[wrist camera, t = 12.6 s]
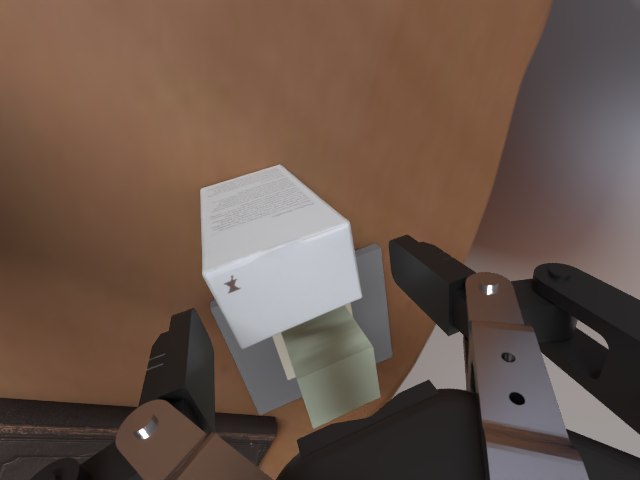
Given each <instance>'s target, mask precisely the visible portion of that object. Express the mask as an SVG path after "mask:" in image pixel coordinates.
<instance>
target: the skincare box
mask: <svg viewBox="0 0 640 480" xmlns="http://www.w3.org/2000/svg"><path fill="white" fill-rule="evenodd" d="M200 197H201V231H202V232H201V234H202V276H203V278H204V279H205V281H206V283H207V285H208V287H209V289H210V290H211V292H212V294H213V296H214V298H215V300H216V302H217V304H218V306H219V307H220V309H221V311H222V313H223V315H224V317H225V319H226V321H227V323H228V325H229V327H230V329H231V331H232V332H233V334H234V336H235V338H236V340H237V342H238V344H239V346H240V347H241V348H242V349H245V348H247V347H249V346H251V345H254V344H256V343H258V342H260V341H262V340H265V339H267V338H269V337H272V336H274V335H276V334H279V333H281V332H283V331H285V330H288V329H290V328H293V327H295V326H297V325H300V324H302V323H304V322H307V321H309V320H311V319H314V318H316V317H318V316H320V315H323V314H325V313H327V312H330V311H332V310H334V309H337V308H339V307H341V306H344V305H346V304H348V303H351V302H353V301H355V300H358V299H360V298H362V292H361V286H360V279H359V273H358V267H357V261H356V255H355V249H354V243H353V237H352V231H351V226H350V222H349V221H348V220H347V219H345V218H344V217H343V216H342V215H340V214H339V213H338V212H337V211H335V210H334V209H333V208H332V207H331V206H329V205H328V204H327V203H326V202H325V201H323V200H322V199H321V198H320V197H318V196H317V195H316V194H315V193H314V192H313V191H311V190H310V189H309V188H308V187H307V186H305V185H304V184H303V183H302V182H301V181H300V180H299V179H297V178H296V177H295V176H294V175H293V174H291V173H290V172H289V171H288V170H287V169H285V168H284V167H283V166H282V165H277V166H273V167H270V168H267V169H264V170H260V171H257V172H254V173H250V174H247V175H244V176H241V177H237V178H234V179H231V180H227V181H224V182H221V183H218V184H215V185H211V186H208V187H205V188H202V189H201V190H200Z"/></svg>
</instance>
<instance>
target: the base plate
mask: <svg viewBox="0 0 640 480" xmlns="http://www.w3.org/2000/svg"><path fill="white" fill-rule="evenodd" d="M355 255H356V261H357V267H358V273H359V279H360V286H361V292H362V298H360V299H358V300H355V301H353V302H351V303H348V304H346V305H345V306H346V308H347V309H348V311H349V312H350V314H351V315H352V316H353V318H354V319H355V321H356V322H357V324H358V325H359V327H360V328H361V330H362V331H363V333H364V334H365V336H366V337H367V338H368V340H369V341H370V343H371V344H372V346H373V349H374V356H375V363H376V364H377V363H380V362H382V361H384V360H386V359H389V358H391V357H392V348H391V338H390V328H389V319H388V309H387V300H386V290H385V281H384V271H383V262H382V252H381V247H379V246H378V245H377V244H376V243H375V244H372V245H369V246H366V247H364V248H361V249H358V250H355ZM210 309H211V311H212V313H213V315H214V317H215V320H216V322H217V324H218V326H219V328H220V330H221V333H222V335H223V337H224V339H225V341H226V343H227V346H228V348H229V350H230V352H231V354H232V356H233V359H234V361H235V363H236V365H237V367H238V369H239V372H240V374H241V376H242V378H243V380H244V383H245V385H246V387H247V389H248V391H249V393H250V396H251V398H252V400H253V402H254V404H255V406H256V409H257V411H258V413H259V415H262V414H265V413H267V412H269V411H271V410H274V409H276V408H278V407H280V406H283V405H285V404H287V403H289V402H292V401H294V400H296V399H298V398H301V397H303V396H302V393H301V390H300V388H299V385H298V382H297V379H296V376H295V373H294V370H293V367H292V364H291V361H290V358H289V355H288V352H287V349H286V346H285V343H284V340H283V337H282V334H281V333H279V334H276V335H274V336H272V337H269V338H267V339H265V340H262V341H260V342H258V343H256V344H254V345H251V346H249V347H247V348H245V349H242V348H241V347H240V346H239V344H238V342H237V340H236V338H235V336H234V334H233V332H232V331H231V329H230V327H229V325H228V323H227V321H226V319H225V317H224V315H223V313H222V311H221V309H220V307H219V306H218V304H217V302H216V300H213V301H210Z"/></svg>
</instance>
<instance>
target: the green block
mask: <svg viewBox="0 0 640 480" xmlns="http://www.w3.org/2000/svg"><path fill="white" fill-rule="evenodd" d="M281 334H282V337H283V340H284V343H285V346H286V349H287V352H288V355H289V358H290V361H291V364H292V367H293V370H294V373H295V376H296V379H297V382H298V385H299V388H300V390H301V393H302V396H303V399H304V402H305V405H306V408H307V411H308V414H309V417H310V420H311V423H312V426H313V429H314V428H316V427H318V426H320V425H322V424H325V423H327V422H329V421H331V420H333V419H335V418H337V417H339V416H342V415H344V414H346V413H348V412H350V411H352V410H354V409H356V408H358V407H361V406H363V405H365V404H367V403H369V402H371V401H373V400H375V399H378V398H380V390H379V383H378V376H377V370H376V363H375V356H374V349H373V346H372V344H371V343H370V341H369V340H368V338H367V337H366V336H365V334H364V333H363V331H362V330H361V328H360V327H359V325H358V324H357V322H356V321H355V319H354V318H353V316H352V315H351V314H350V312H349V311H348V309H347V308H346V306H345V305H344V306H341V307H339V308H337V309H334V310H332V311H330V312H327V313H325V314H323V315H320V316H318V317H316V318H314V319H311V320H309V321H307V322H304V323H302V324H300V325H297V326H295V327H293V328H290V329H288V330H285V331H283V332H281Z"/></svg>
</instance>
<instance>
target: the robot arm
mask: <svg viewBox="0 0 640 480" xmlns="http://www.w3.org/2000/svg"><path fill="white" fill-rule="evenodd" d="M389 253H390V263H391V272H392V276H393V278H394V281H395V282H396V284H397V285H398V286H399V287H400V288H401V289H402V290H403V291H404V292H405V293H406V294H407V295H408V296H409V297H410V298H411V299H412V300H413V301H414V302H415V303H416V304H417V305H418V306H419V307H420V308H421V309H422V310H423V311H424V312H425V313H426V314H427V315H428V316H429V317H430V318H431V319H432V320H433V321H434V322H435V323H436V324H437V325H438V326H439V327H440V328H441V329H442V330H443V331H444V332H445V333H446V334H447V335H448V336H450V335H452V334H455V333H457V332H459V331H460V332H461V333H462V334H463V336H464V337H463V344H464V360H465V373H466V391H465V390H459V389H438V390H437V389H436V388H435V387H434V386H433V384H432V383H431V382H430V380H427V381H425V382H423V383H421V384H418V385H416V386H414V387H412V388H409V389H407V390H405V391H403V392H401V393H399V394H397V395H396V396H395V397H394V398H393V399H391V400H390V401H389V402H388V403H387V404H385V405H384V406H383V407H382V408H381V409H380V410H378V411H377V412H376V413H375V414H374V415H372V416H371V417H368V418H364V419H358V420H352V421H346V422H341V423H335V424H331V425H328V426H326V427H324V428H322V429H320V430H317V431H315V432H313V433H311V434H309V435H306V436H304V437H302V438H300V439H298V440H297V443H298V447H299V451H300V453H298V454H297V455H296V456H295V457H294V458H293V459H292V460H291V461H290V462H289V463H288V464H287V465H286V466H285V468H284V469H283V470H282V471H281V473H280V474H279V476H278V477H277V479H276V480H640V458H638V457H636V456H633V455H631V454H628V453H626V452H623V451H621V450H618V449H616V448H613V447H611V446H608V445H606V444H603V443H601V442H598V441H596V440H593V439H591V438H588V437H585V436H583V435H580V434H578V433H575V432H573V431H570V430H568V429H566V428H565V425H564V422H563V419H562V416H561V412H560V409H559V406H558V403H557V400H556V397H555V394H554V391H553V388H552V385H551V381H550V378H549V375H548V372H547V369H546V366H545V363H544V360H543V357H542V354H541V352H542V353H543V354H544V355H545V356H546V357H548V358H549V359H550V360H551V361H552V362H554V363H555V364H556V365H557V366H558V367H560V368H561V369H562V370H563V371H564V372H566V373H567V374H568V375H569V376H570V377H572V378H573V379H574V380H575V381H576V382H578V383H579V384H580V385H581V386H582V387H584V388H585V389H586V390H587V391H588V392H589V393H591V394H592V395H593V396H594V397H596V398H597V399H598V400H599V401H600V402H602V403H603V404H604V405H605V406H606V407H607V408H609V409H610V410H611V411H612V412H613V413H615V414H616V415H617V416H618V417H619V418H621V419H622V420H623V421H624V422H625V423H627V424H628V425H629V426H630V427H631V428H633V429H634V430H635V431H636V432H637V433H639V434H640V300H638V299H636V298H634V297H633V296H631V295H628V294H626V293H625V292H623V291H621V290H619V289H617V288H615V287H613V286H611V285H609V284H607V283H605V282H603V281H601V280H599V279H597V278H595V277H593V276H591V275H589V274H587V273H585V272H583V271H581V270H579V269H577V268H575V267H572V266H569V265H565V264H560V263H547V264H542V265H539V266H538V267H536V268H535V270H534V274H533V279H526V280H519V281H510V280H508V279H507V278H506V277H504V276H502V275H499V274H495V273H490V272H481V273H476V272H474V271H473V270H471V269H469V268H468V267H467V266H465V265H464V264H462V263H461V262H459V261H458V260H456V259H454V258H453V257H452V258H451V256H450V255H448V254H447V253H445V252H443V251H442V250H441V249H439V248H438V247H436V246H435V245H432V244H428V243H425V242H420V243H419V242H418V241H416V240H415V239H413V238H412V237H410V236H409V235H404V236H401V237H399V238H396V239H393V240H390V241H389ZM577 320H579V321H581V322H582V323H584V324H585V325H587V326H589V327H590V328H592V329H593V330H595V331H596V332H598V333H599V334H600V335H601V336H602V337H603V338H604V339H605V340H606V342H607V344H608V347H609V350H608V349H607V348H605V347H604V346H602V345H601V344H599V343H598V342H597V341H595V340H594V339H592V338H591V337H589V336H588V335H586V334H585V333H583V332H582V331H580V330H579V329H577V328H576V324H577ZM147 369H148V371H147V372H146V376H145V380H144V385H143V389H142V393H141V398H140V402H139V406H138V408H137V409H135V410H134V411H133V412H132V413H131V414H130V415H129V416H128V417H127V418H126V419H125V420H124V422H123V423H122V424H121V426H120V428H119V430H118V432H117V435H116V440H115V441H114V442H113V443H111V444H110V445H108V446H107V447H106V448H104V449H103V450H101V451H100V452H98V453H97V454H95V455H94V456H92V457H91V458H89V459H88V460H86V461H85V462H83V463H82V464H80V463H79V462H78V461H77V460H76V459H74V458H70V457H69V458H62V459H59V460H57V461H54V462H52V463H50V464H49V465H47V466H46V467H44V468H43V469H41V470H40V471H39V472H38V473H36V474H35V475H34V476H33V477H32V478H31V479H30V480H273V479H272V478H271V477H269V476H268V475H267V474H265V473H264V472H263V471H262V470H260V469H259V468H258V467H257V466H255V465H254V464H253V463H252V462H250V461H249V460H248V459H247V458H245V457H244V456H243V455H242V454H240V453H239V452H238V451H237V450H235V449H234V448H233V447H231V446H230V445H229V444H228V443H226V442H225V441H224V440H223V439H221V438H220V437H219V436H218V435H216V434H215V393H214V351H213V346H212V343H211V340H210V338H209V336H208V334H207V332H206V330H205V328H204V326H203V324H202V322H201V320H200V318H199V316H198V314H197V312H196V310H195V309H194V308H192V309H189V310H187V311H184V312H181V313H178V314H175V315H173V316H172V317H171V322H170V328H169V331H168V332H165V333H162V334H160V336H159V337H158V339H157V340H156V342H155V343H154V345H153V346H152V350H151V354H150V361H149V363H148V367H147Z"/></svg>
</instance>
